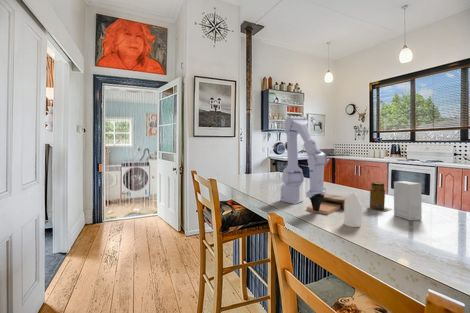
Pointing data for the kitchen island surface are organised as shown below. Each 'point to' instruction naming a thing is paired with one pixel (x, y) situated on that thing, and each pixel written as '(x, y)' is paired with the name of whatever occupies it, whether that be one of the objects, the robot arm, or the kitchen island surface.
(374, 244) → the kitchen island surface
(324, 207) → the tile
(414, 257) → the kitchen island surface
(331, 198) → the shelf
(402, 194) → the skincare box
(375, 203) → the condiment
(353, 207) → the white pointed crystal
